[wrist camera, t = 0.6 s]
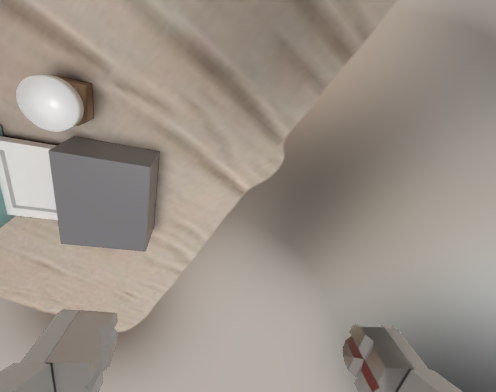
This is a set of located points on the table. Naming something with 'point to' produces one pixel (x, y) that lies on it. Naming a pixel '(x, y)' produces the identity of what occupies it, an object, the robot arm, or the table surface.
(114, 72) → the table surface
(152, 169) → the grey drawer box
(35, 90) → the disc
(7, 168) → the tray
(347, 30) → the table surface
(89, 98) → the walnut block
